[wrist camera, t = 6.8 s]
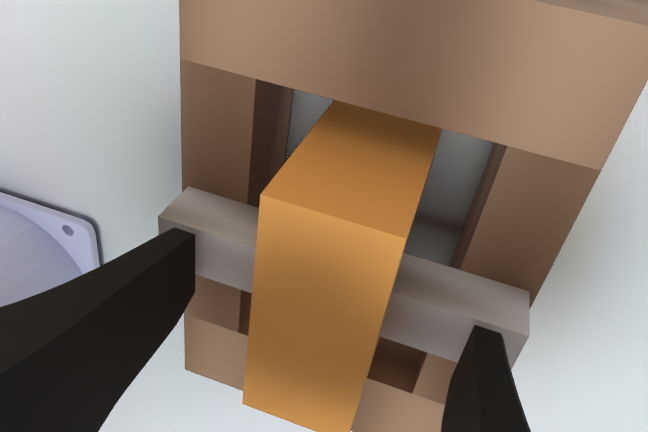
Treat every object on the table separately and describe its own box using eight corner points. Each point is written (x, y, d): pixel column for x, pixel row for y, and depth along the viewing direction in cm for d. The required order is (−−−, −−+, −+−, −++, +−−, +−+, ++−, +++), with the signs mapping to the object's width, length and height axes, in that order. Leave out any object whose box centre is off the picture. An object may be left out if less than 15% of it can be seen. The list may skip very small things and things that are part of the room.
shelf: (221, 314, 23) (162, 403, 19) (238, -92, 14) (134, -69, 10) (457, 397, 21) (442, 511, 18) (646, -5, 12) (692, 58, 9)
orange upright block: (307, 278, 19) (242, 403, 15) (338, 95, 15) (260, 194, 11) (389, 305, 19) (346, 442, 15) (443, 123, 15) (406, 238, 10)
